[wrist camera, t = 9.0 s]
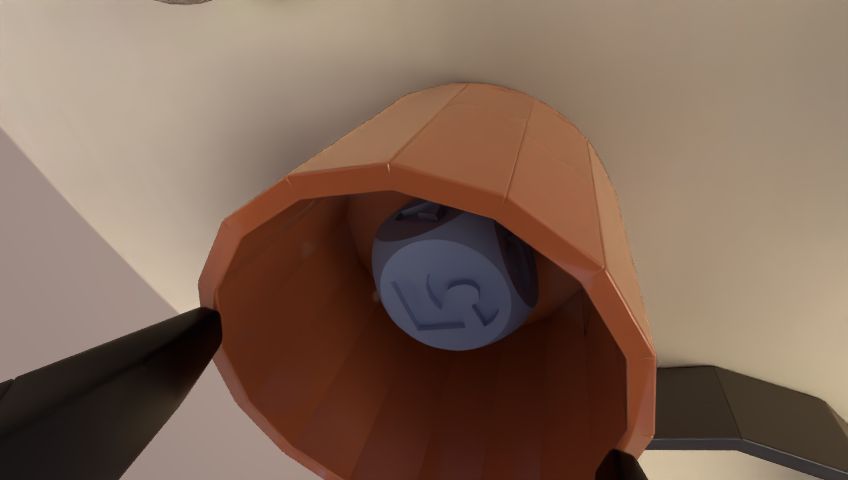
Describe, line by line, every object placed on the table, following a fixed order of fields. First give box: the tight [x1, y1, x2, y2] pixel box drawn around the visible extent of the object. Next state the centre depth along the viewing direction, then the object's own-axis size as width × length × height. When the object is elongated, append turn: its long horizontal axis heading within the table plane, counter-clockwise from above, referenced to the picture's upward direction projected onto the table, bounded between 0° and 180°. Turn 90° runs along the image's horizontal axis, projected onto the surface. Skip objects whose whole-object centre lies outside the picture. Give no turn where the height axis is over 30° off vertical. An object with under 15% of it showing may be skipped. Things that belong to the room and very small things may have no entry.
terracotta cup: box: [198, 83, 657, 480], centre depth 13 cm, size 10×10×8 cm
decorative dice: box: [372, 198, 539, 351], centre depth 14 cm, size 4×4×4 cm
